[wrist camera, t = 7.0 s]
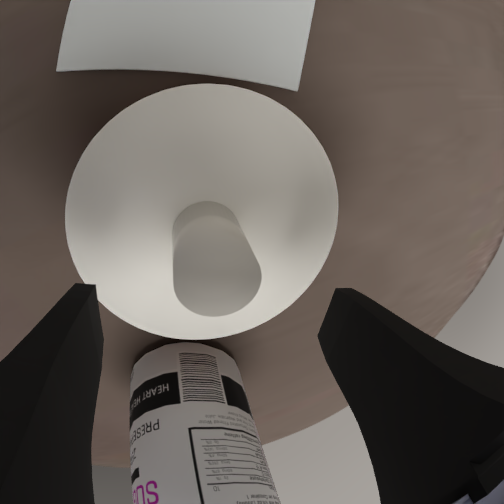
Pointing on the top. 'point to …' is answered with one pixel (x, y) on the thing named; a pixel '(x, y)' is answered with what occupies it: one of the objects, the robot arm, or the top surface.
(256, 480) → the supplement can
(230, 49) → the mat
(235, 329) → the lid
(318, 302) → the top surface
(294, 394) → the top surface
